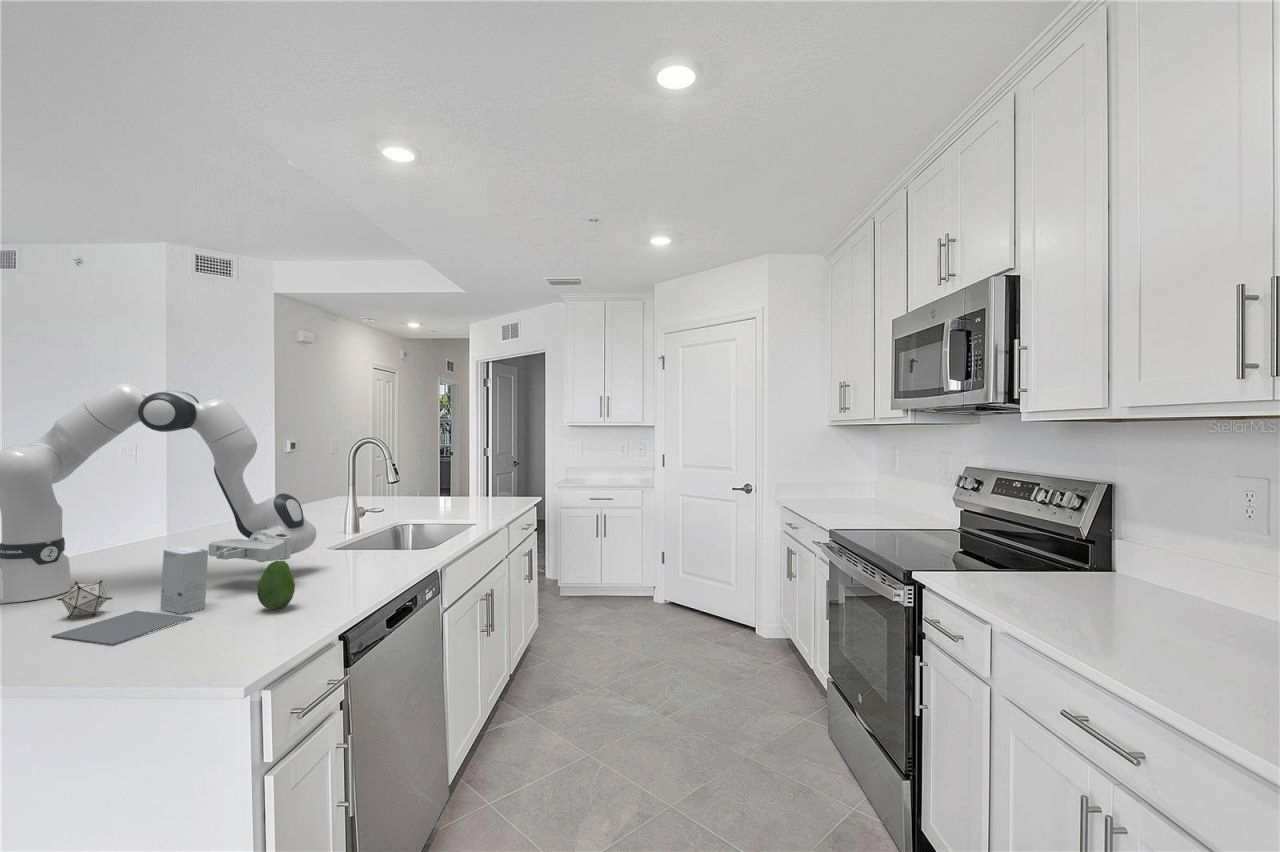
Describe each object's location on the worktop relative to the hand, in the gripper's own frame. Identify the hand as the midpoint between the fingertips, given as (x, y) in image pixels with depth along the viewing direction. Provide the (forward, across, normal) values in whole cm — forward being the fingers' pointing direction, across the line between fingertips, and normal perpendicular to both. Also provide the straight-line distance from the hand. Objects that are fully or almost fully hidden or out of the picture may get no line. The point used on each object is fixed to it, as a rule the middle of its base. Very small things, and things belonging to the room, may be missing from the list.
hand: (220, 556), depth 155 cm
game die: (+20, -17, +11) cm, 28 cm away
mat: (+23, 0, +11) cm, 26 cm away
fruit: (+4, +21, +11) cm, 24 cm away
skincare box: (+10, 0, +11) cm, 15 cm away
